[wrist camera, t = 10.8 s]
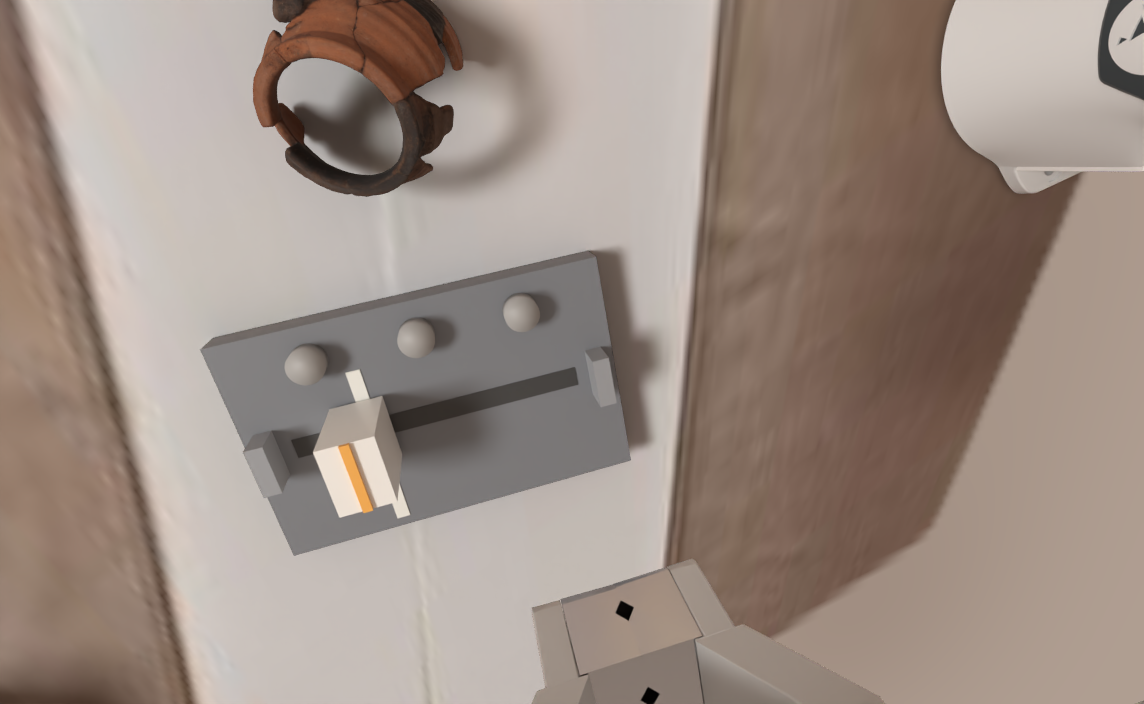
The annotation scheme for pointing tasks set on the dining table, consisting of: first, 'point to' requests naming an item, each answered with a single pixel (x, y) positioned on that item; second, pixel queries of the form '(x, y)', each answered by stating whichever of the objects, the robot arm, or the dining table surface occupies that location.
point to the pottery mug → (383, 55)
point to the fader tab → (359, 457)
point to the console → (432, 394)
